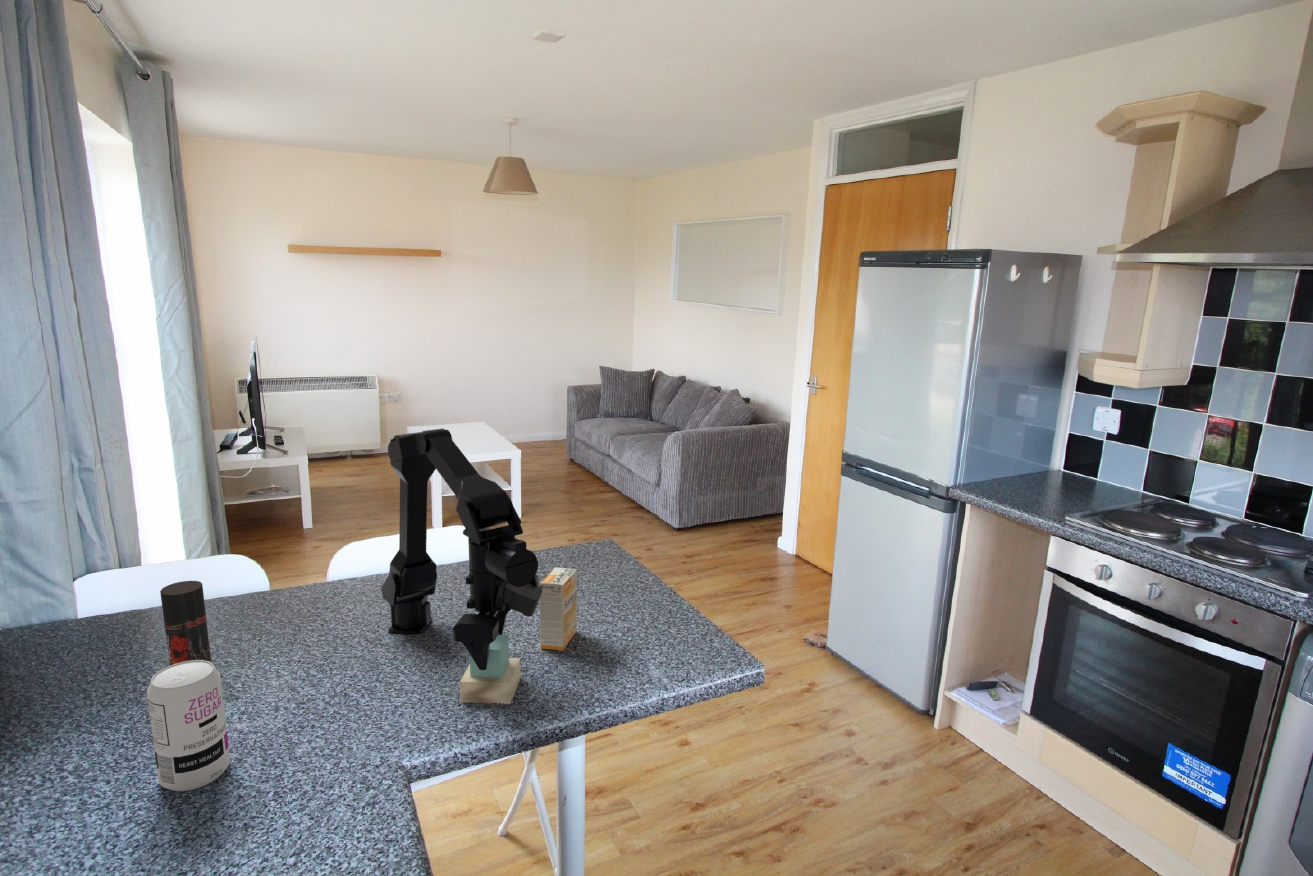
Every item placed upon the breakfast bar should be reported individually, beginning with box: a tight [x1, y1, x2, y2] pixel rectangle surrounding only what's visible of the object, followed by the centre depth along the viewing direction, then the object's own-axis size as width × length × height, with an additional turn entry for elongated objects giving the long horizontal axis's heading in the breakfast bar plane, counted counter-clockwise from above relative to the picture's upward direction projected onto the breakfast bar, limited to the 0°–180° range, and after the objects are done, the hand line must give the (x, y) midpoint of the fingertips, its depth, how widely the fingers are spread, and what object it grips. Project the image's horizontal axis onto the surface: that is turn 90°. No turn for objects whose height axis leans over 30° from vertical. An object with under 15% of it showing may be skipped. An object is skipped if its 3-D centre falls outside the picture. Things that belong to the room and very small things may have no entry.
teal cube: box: [469, 634, 510, 678], centre depth 119 cm, size 5×5×5 cm
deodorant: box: [160, 580, 212, 666], centre depth 123 cm, size 6×6×15 cm
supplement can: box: [146, 660, 231, 792], centre depth 97 cm, size 8×8×15 cm
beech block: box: [459, 657, 522, 705], centre depth 120 cm, size 8×8×4 cm
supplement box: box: [539, 567, 578, 652], centre depth 136 cm, size 8×5×13 cm, turn 168°
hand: (490, 656), depth 119 cm, fingers open, 8 cm apart
